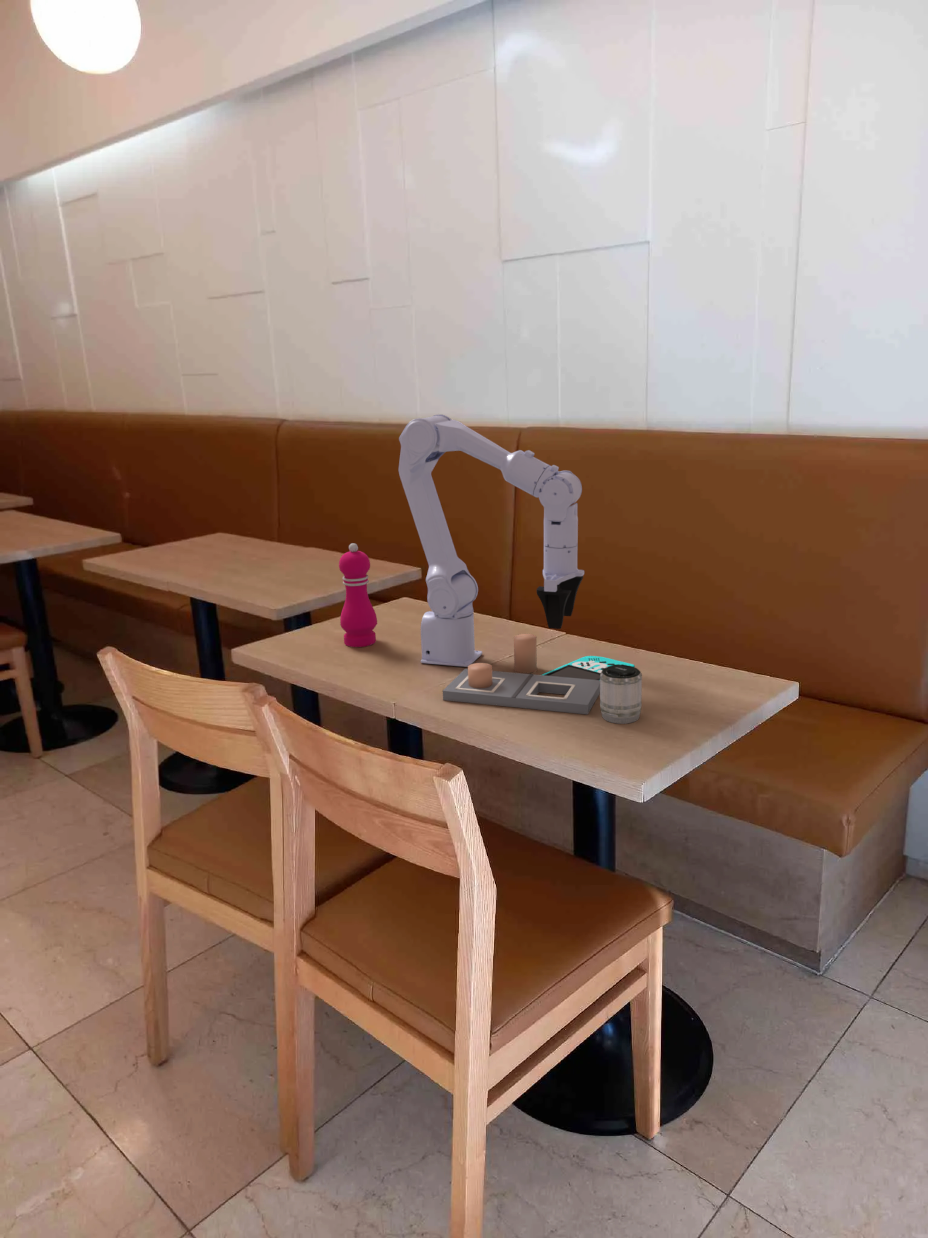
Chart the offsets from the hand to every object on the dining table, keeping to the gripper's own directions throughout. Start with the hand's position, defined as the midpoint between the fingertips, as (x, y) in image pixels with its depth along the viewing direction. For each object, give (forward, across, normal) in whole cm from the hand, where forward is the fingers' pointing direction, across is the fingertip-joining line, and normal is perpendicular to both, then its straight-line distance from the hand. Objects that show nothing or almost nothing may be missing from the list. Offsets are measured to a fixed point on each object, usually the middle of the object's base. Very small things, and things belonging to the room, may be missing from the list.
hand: (560, 621), depth 157 cm
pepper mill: (+10, +6, +42) cm, 44 cm away
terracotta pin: (+9, -1, +6) cm, 11 cm away
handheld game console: (+10, -1, -5) cm, 11 cm away
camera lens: (+9, -18, -14) cm, 24 cm away
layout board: (+9, -13, +3) cm, 16 cm away
